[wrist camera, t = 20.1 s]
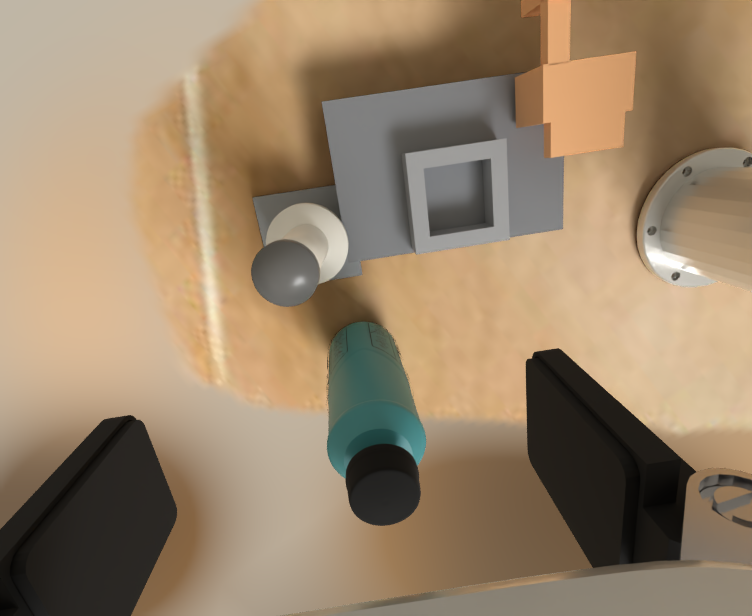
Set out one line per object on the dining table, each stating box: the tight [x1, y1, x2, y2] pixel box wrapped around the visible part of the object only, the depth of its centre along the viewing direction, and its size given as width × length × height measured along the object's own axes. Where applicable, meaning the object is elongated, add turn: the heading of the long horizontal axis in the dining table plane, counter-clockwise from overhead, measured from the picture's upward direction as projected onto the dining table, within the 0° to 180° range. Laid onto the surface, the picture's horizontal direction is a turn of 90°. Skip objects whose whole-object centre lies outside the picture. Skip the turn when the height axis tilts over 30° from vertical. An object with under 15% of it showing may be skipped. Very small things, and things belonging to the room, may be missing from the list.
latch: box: [515, 0, 636, 158], centre depth 28 cm, size 6×11×5 cm, turn 8°
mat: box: [253, 185, 362, 280], centre depth 37 cm, size 8×8×1 cm
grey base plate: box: [322, 72, 564, 263], centre depth 33 cm, size 18×12×6 cm, turn 98°
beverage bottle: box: [326, 322, 426, 526], centre depth 31 cm, size 6×7×20 cm
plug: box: [251, 203, 349, 307], centre depth 31 cm, size 6×6×12 cm
